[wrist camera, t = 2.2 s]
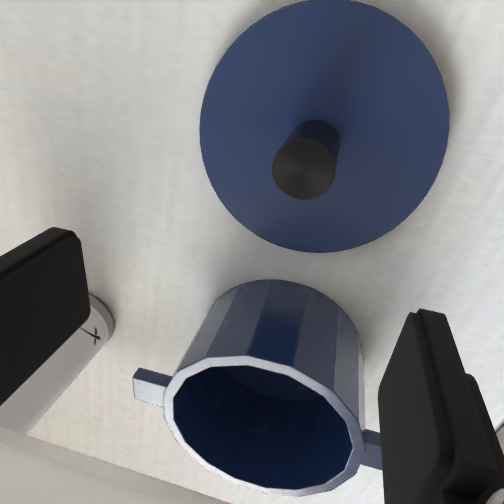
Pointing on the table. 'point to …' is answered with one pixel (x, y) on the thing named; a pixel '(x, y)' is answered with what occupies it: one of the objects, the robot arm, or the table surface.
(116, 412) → the table surface
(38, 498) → the robot arm
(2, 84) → the table surface
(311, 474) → the pot
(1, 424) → the travel mug
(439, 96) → the lid
